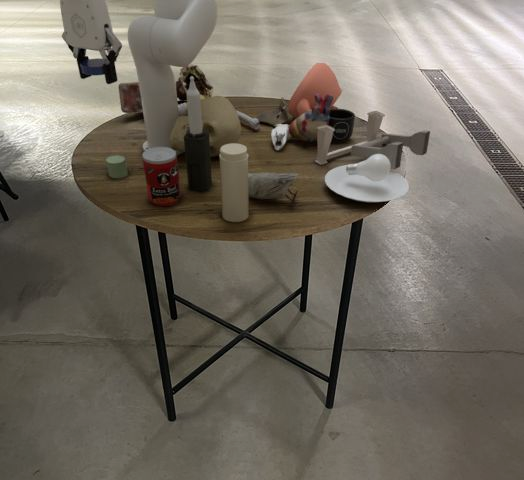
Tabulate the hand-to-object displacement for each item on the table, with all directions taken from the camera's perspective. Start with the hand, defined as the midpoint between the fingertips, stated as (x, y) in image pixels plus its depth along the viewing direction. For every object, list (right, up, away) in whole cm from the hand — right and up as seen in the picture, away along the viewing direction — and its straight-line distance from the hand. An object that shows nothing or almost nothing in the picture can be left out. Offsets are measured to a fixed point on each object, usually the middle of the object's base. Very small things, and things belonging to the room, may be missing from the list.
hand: (99, 79), depth 109 cm
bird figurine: (+41, -2, +26) cm, 49 cm away
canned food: (+14, -25, +7) cm, 30 cm away
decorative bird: (+38, -25, +7) cm, 46 cm away
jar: (+31, -30, +2) cm, 44 cm away
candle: (+22, -21, +12) cm, 32 cm away
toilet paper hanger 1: (+60, -1, +25) cm, 65 cm away
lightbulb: (+58, -16, +12) cm, 62 cm away
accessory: (+50, +2, +33) cm, 61 cm away
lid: (0, +2, -2) cm, 3 cm away
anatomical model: (+49, +1, +34) cm, 60 cm away
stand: (0, -16, +16) cm, 23 cm away
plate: (+63, -21, +12) cm, 68 cm away
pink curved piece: (+49, +20, +39) cm, 66 cm away
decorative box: (-3, +20, +48) cm, 52 cm away
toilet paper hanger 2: (+73, -3, +21) cm, 76 cm away
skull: (+11, -2, +21) cm, 24 cm away
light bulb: (+10, +15, +45) cm, 48 cm away
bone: (+32, +13, +43) cm, 55 cm away
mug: (+60, +3, +36) cm, 70 cm away
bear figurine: (+16, +27, +51) cm, 60 cm away
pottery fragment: (+38, +11, +47) cm, 61 cm away
